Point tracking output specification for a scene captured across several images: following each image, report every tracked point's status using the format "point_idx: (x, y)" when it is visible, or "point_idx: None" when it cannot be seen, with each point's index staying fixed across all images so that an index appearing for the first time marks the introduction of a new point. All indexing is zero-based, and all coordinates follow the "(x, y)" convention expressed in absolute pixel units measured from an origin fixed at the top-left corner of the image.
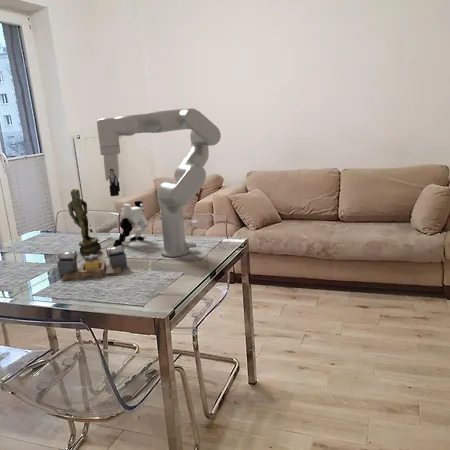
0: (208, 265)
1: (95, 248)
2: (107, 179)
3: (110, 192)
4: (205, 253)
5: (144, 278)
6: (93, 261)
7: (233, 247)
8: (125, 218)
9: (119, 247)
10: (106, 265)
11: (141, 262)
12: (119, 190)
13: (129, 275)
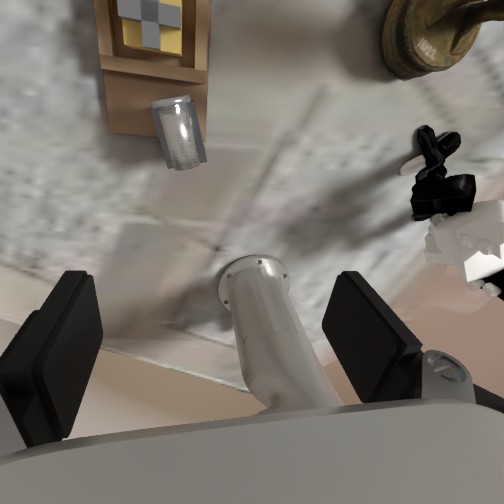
0: (125, 338)
1: (388, 52)
2: (281, 413)
3: (50, 299)
4: (216, 337)
5: (54, 200)
6: (126, 22)
7: (232, 379)
8: (469, 206)
9: (177, 154)
10: (201, 85)
11: (211, 201)
12: (324, 330)
13: (94, 158)
